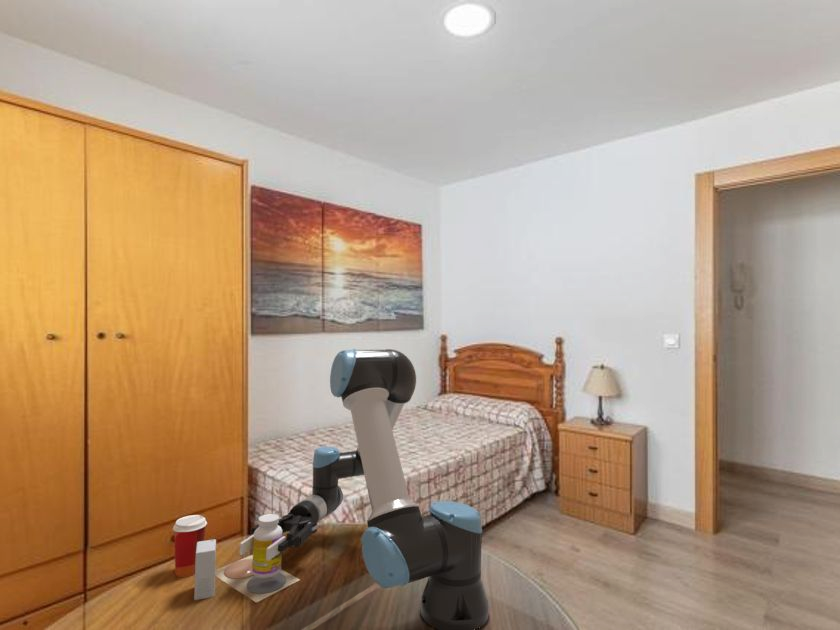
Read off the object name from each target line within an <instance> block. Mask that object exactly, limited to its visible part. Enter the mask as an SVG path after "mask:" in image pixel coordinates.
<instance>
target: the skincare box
mask: <svg viewBox="0 0 840 630" xmlns="http://www.w3.org/2000/svg"><path fill="white" fill-rule="evenodd" d="M216 550H217V539H213V538H212V539H208V540H204V541H200V542H197V546H196V561H195V575H194V592H193V593H194V595H193V600H194V601H199V600H203V599H209V598H213V597H215V594H216V593H215V592H216V591H215V589H216V576H215V570H216V557H217V551H216Z"/></svg>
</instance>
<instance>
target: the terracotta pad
mask: <svg viewBox="0 0 840 630" xmlns="http://www.w3.org/2000/svg"><path fill="white" fill-rule="evenodd" d="M239 560H240V561H239ZM239 560H236V561H234V562H232V563H229V564H230V565H229V564H227V565H228V566H227V565H226V566H227V567H226V568H225V570H224V575H225V576H226V577H228V578H231V579H243V578H248V577H251V576H253V573H252V563H253V559H246V560H241V559H239Z"/></svg>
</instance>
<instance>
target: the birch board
mask: <svg viewBox="0 0 840 630" xmlns="http://www.w3.org/2000/svg"><path fill="white" fill-rule="evenodd" d="M246 559H253V554H251V555H248V556H246V557H244V558H242V559H239V560H238V561H240V560H246ZM230 564H231V563H229V564H226V565H225V566H222V567H220V568H218V569H215V578H217V579H219V580H220V581H222V582H223V583H225V584H227V585H228V586H230V587H231V588H233V589H234V590H236V591H238V592H239V593H241V594H242V595H244V596H245V597H246V598H249V599H250V600H252V601H253V602H254V603H256V604H257V603H259V602H261V601H262V600H264V599H266V598H268V597H270V596H272V595H275V594H276V593H279V592H280V591H282V590H283V589H286V588H287V587H289V586H291V585H294V584H295V583H297V582H299V581H300V580H301V579H299V578H298V577H296V576H294V575H293V574H290V573H288V572H287V571H285V570H283V569H281V570H280V571H279V573H281V574H283V575H284V576H285V577H286V583H285V585H284V586H283V587H282V588H280V589H279V590H277V591H274V592H271V593H266V594H255V593H252V592H250V591H248V589H247V582H248V581H249V580H250V579H251V578H252V577H254V575H253V576H251V577H248V578H243V579H231V578H228V577H226V576H225V575H224V570H225V568H226V567H227V566H228V565H230Z"/></svg>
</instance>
